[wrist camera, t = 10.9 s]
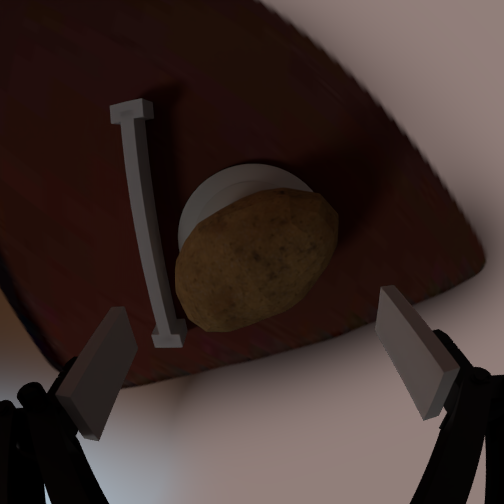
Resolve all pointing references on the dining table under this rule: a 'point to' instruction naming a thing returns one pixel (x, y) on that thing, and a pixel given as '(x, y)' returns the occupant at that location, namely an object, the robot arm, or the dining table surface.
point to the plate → (232, 192)
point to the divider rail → (147, 219)
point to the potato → (255, 258)
